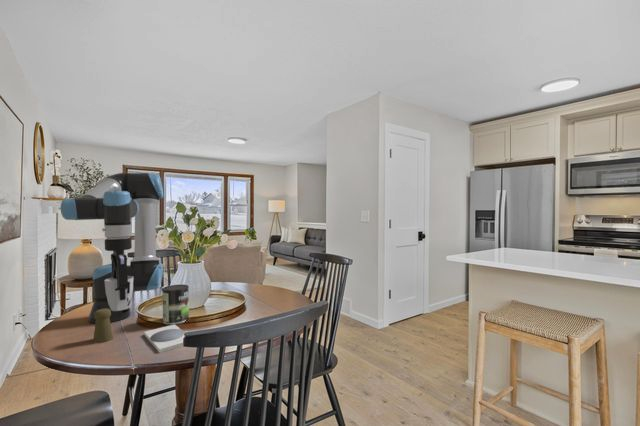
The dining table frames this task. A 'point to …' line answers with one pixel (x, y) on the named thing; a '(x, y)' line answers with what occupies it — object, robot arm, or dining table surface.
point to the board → (165, 338)
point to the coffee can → (175, 304)
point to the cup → (112, 294)
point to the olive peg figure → (102, 326)
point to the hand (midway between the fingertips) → (120, 306)
